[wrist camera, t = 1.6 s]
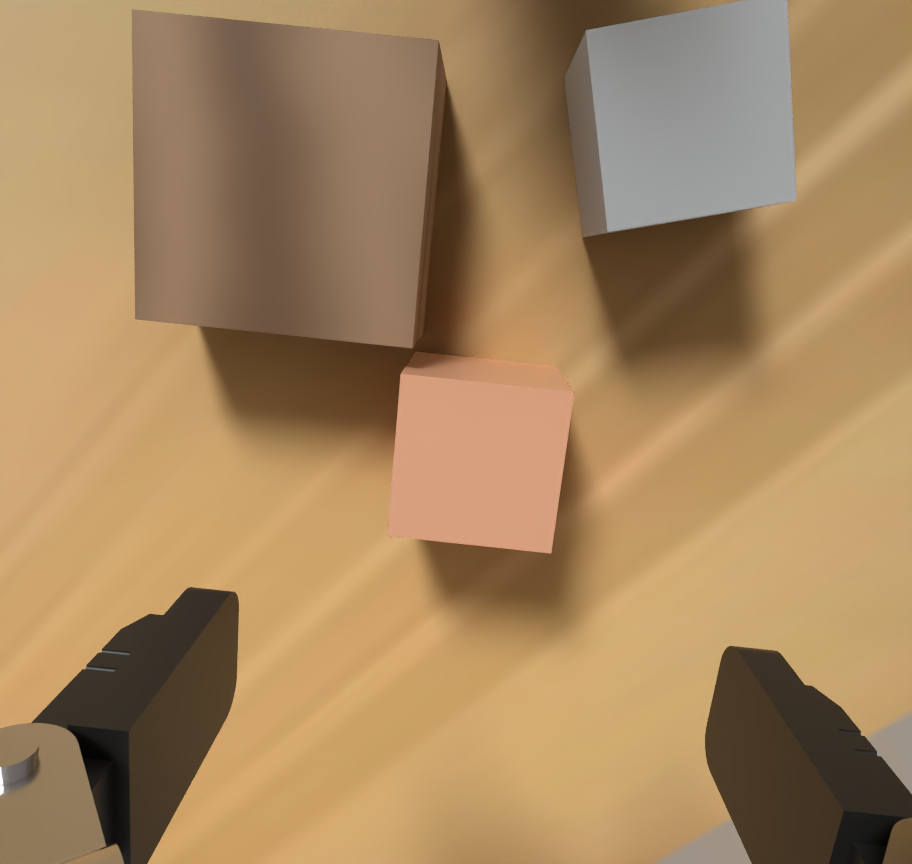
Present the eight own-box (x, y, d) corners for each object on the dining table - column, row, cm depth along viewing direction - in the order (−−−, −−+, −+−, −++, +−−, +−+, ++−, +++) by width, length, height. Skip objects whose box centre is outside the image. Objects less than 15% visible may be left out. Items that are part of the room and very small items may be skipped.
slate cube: (720, 50, 25) (787, -8, 19) (731, 212, 26) (796, 200, 21) (563, 79, 25) (585, 30, 20) (581, 237, 26) (607, 231, 21)
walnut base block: (446, 81, 25) (438, 40, 20) (424, 332, 27) (412, 348, 23) (198, 56, 25) (131, 9, 20) (196, 308, 28) (135, 319, 23)
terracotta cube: (556, 365, 27) (574, 392, 22) (538, 498, 29) (551, 553, 23) (416, 351, 27) (400, 373, 22) (404, 484, 29) (387, 535, 23)
